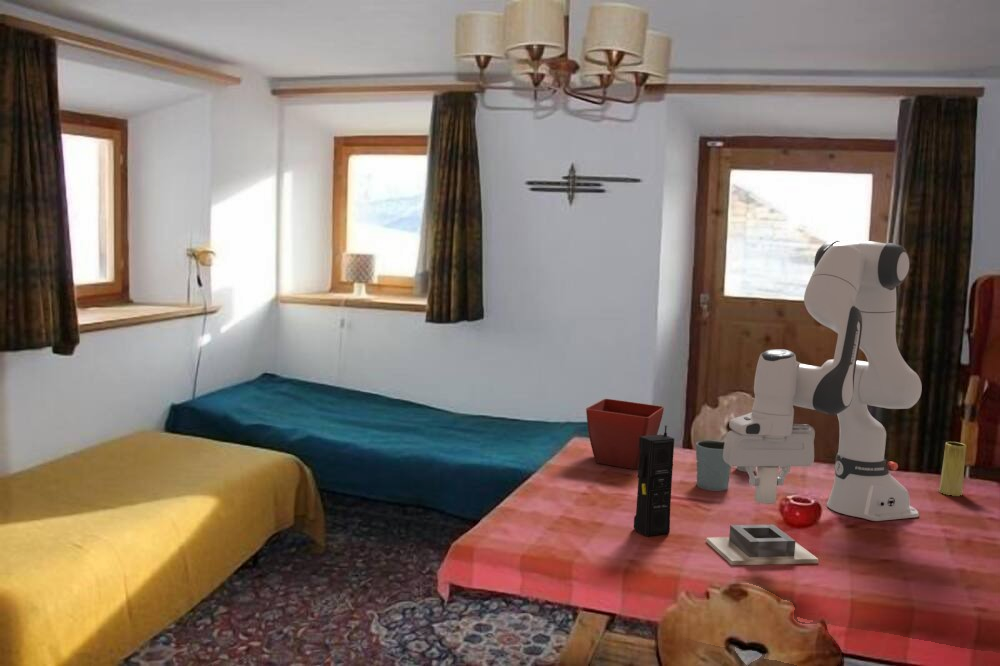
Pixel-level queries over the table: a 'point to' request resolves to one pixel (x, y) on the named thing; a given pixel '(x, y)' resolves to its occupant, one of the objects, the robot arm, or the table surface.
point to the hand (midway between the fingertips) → (766, 485)
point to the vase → (953, 469)
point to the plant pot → (621, 430)
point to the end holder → (760, 546)
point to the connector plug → (766, 484)
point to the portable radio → (654, 484)
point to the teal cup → (712, 466)
